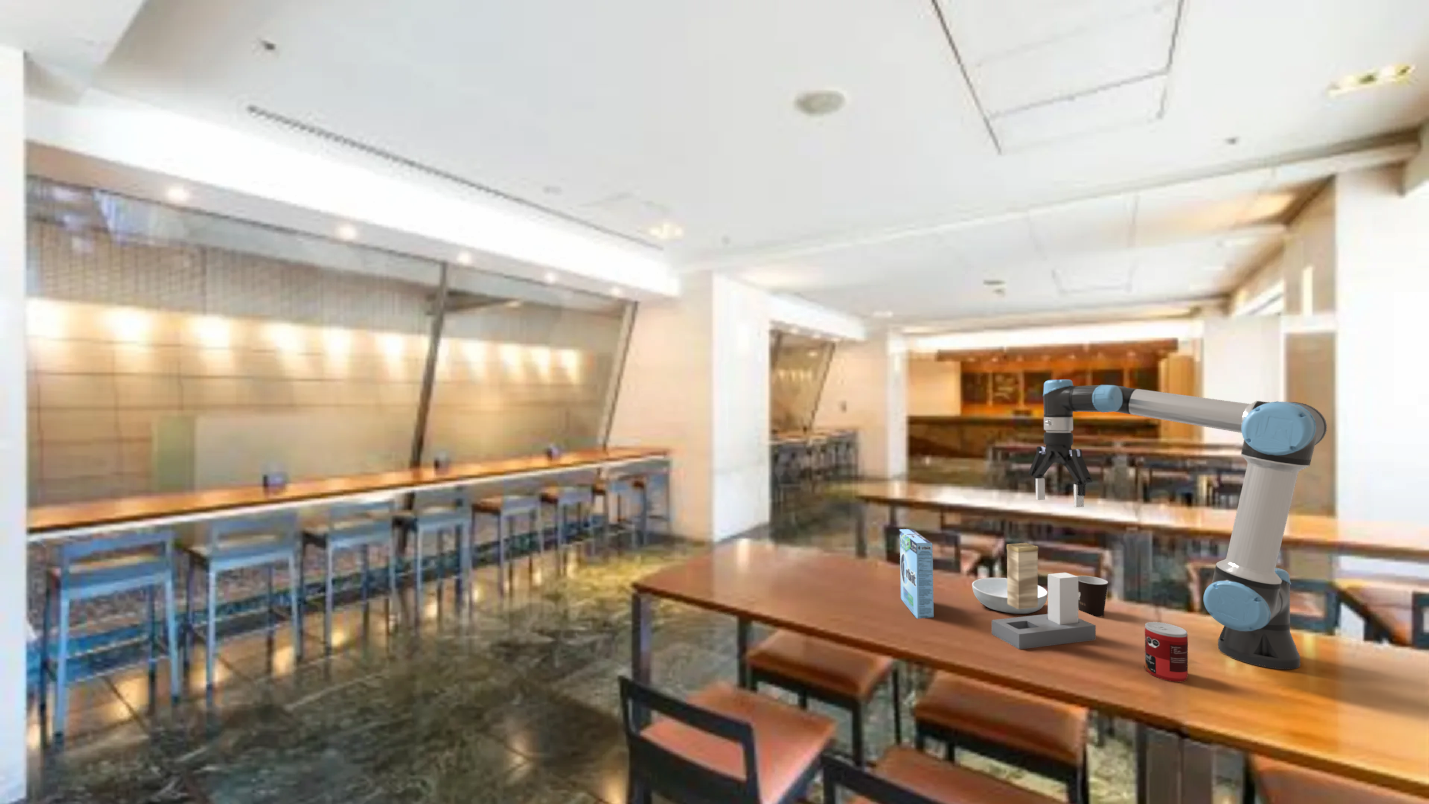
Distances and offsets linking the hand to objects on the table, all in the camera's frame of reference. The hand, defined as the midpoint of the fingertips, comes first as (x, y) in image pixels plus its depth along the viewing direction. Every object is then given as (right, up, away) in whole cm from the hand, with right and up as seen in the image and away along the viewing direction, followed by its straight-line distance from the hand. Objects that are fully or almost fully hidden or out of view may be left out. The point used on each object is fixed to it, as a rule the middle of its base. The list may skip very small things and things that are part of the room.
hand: (1058, 503), depth 173 cm
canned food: (+4, -34, -36) cm, 50 cm away
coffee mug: (+13, -34, +6) cm, 37 cm away
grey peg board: (-14, -34, -17) cm, 41 cm away
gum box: (-40, -35, +8) cm, 53 cm away
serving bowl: (-11, -35, +8) cm, 37 cm away
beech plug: (-20, -24, -18) cm, 36 cm away
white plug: (-8, -33, -15) cm, 37 cm away
